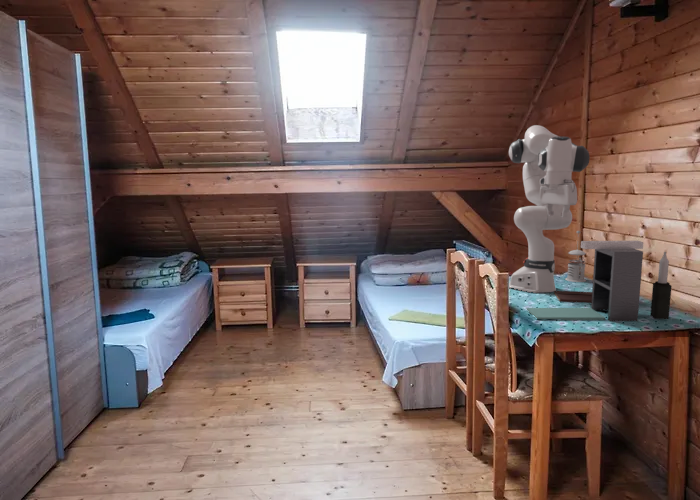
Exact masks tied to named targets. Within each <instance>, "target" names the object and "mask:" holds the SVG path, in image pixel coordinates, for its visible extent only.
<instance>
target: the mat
mask: <svg viewBox="0 0 700 500" xmlns="http://www.w3.org/2000/svg"><path fill="white" fill-rule="evenodd" d="M525 309H527V310H528V311H529V312H530V313H531V314H532V315H534V316H535V317H536V318H537V319H561V320H560V321H605V320H606V317H605V315H602V314H601V313H599V312H597V310H593V309H591V307H526V308H525ZM528 311H527V312H528ZM529 312H528V313H529ZM530 313H529V314H530ZM531 314H530V315H531ZM532 315H531V316H532ZM562 319H563V320H562Z"/></svg>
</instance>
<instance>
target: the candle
mask: <svg viewBox="0 0 700 500" xmlns="http://www.w3.org/2000/svg"><path fill="white" fill-rule="evenodd" d="M669 263H670V260H669V259H668V257H667V252H666V251H663V254H662V258H660V260H659V264H658V265H659V266H658V276H657V280H656V281H655V282H653V283H652V291H651V293H652V294H651V301H650V302H651V305H650V315H649V316H650V317H651V318H653V319H655V320H669V319H670V310H671V309H670V307H671V300H672V299H671V296H672V288H673V287H672V285H671V284H670V282H668V276H669V275H668V274H669V266H670V265H669Z"/></svg>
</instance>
